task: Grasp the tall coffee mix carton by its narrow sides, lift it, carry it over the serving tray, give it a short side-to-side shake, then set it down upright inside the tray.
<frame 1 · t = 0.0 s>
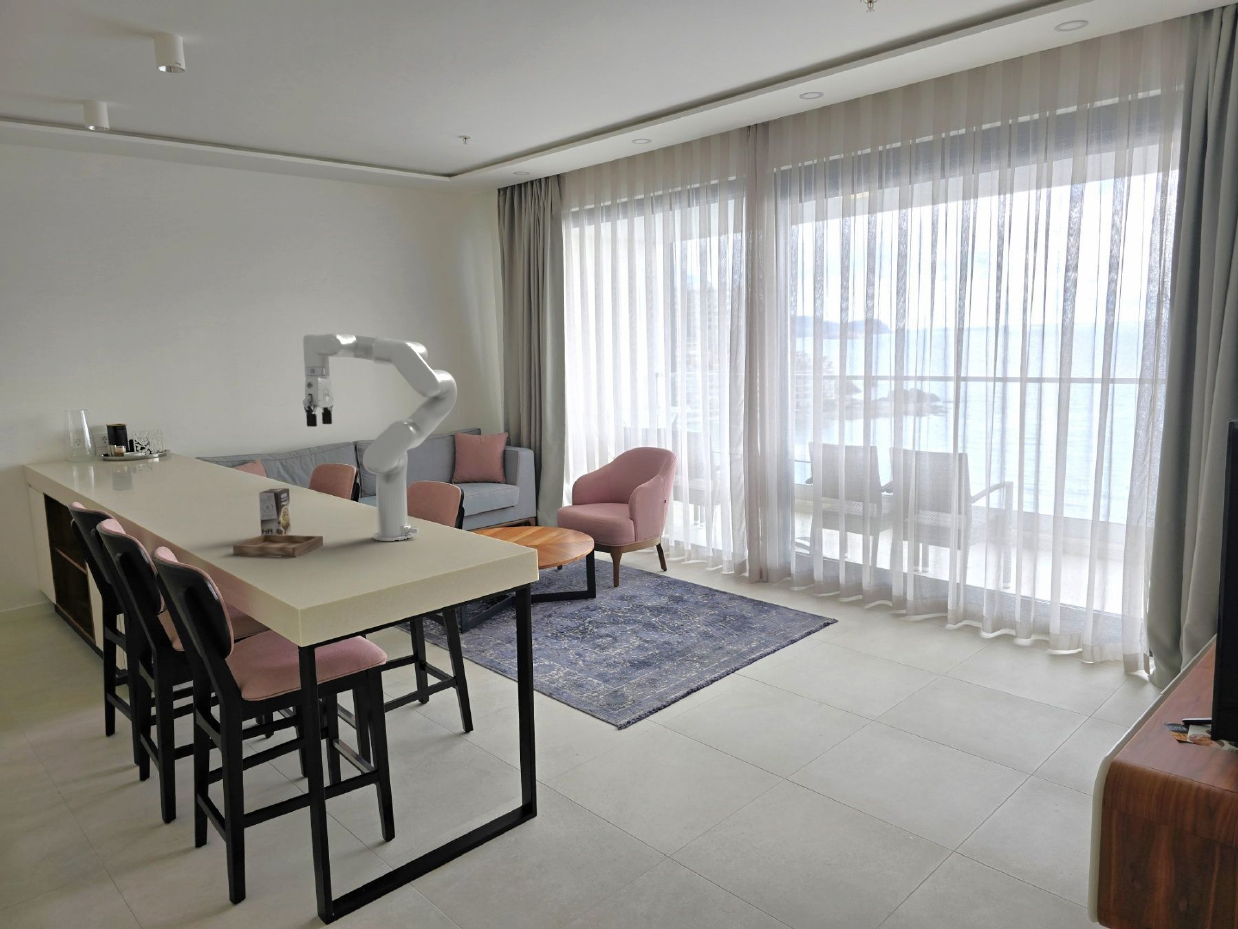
hand: (319, 425, 266), 37 cm above the table, tool pointing down, fingers open, 9 cm apart
tray: (279, 550, 250), on the table
coffee box: (277, 539, 266), on the table
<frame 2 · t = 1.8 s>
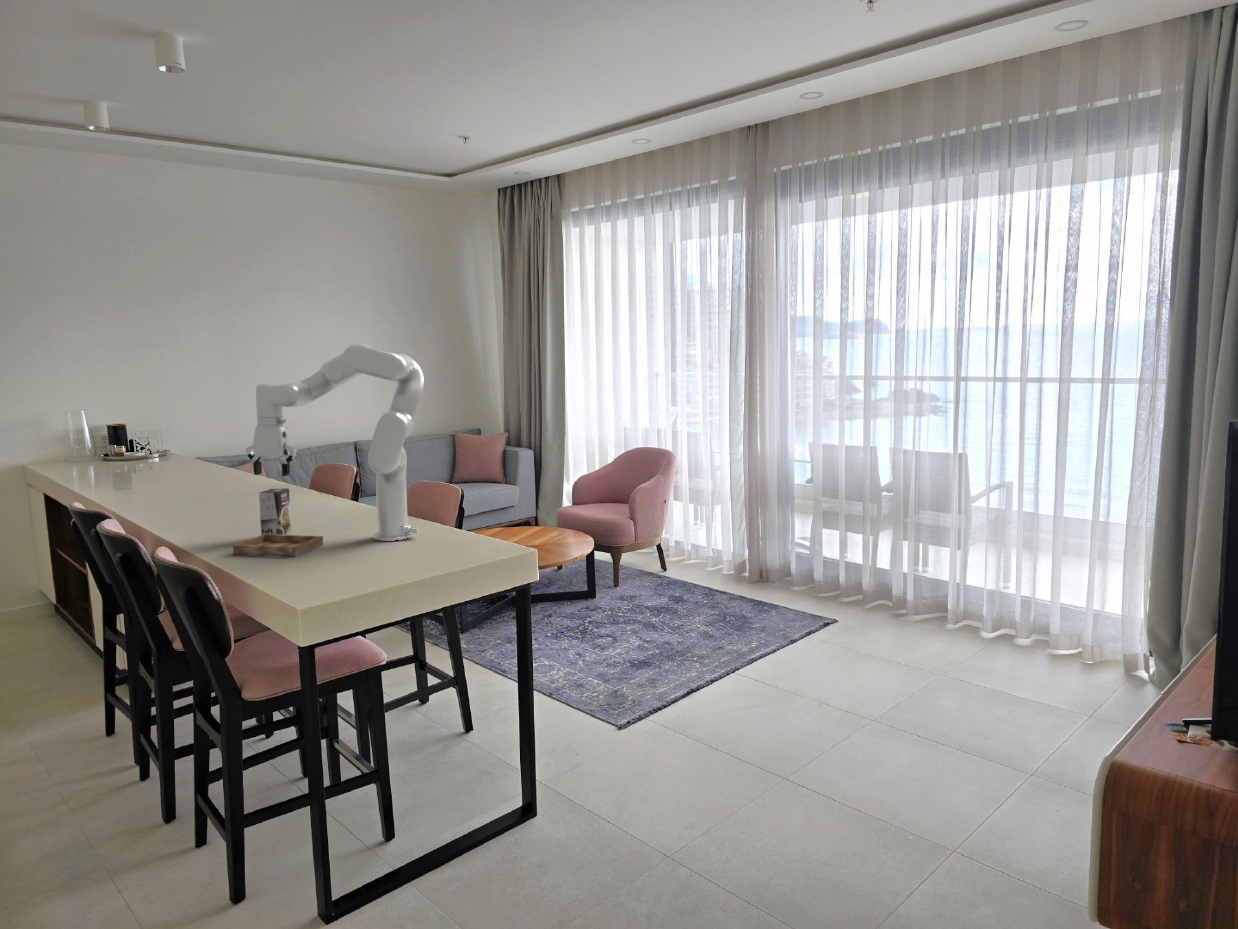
hand: (271, 475, 263), 21 cm above the table, tool pointing down, fingers open, 9 cm apart
nothing on the table moved.
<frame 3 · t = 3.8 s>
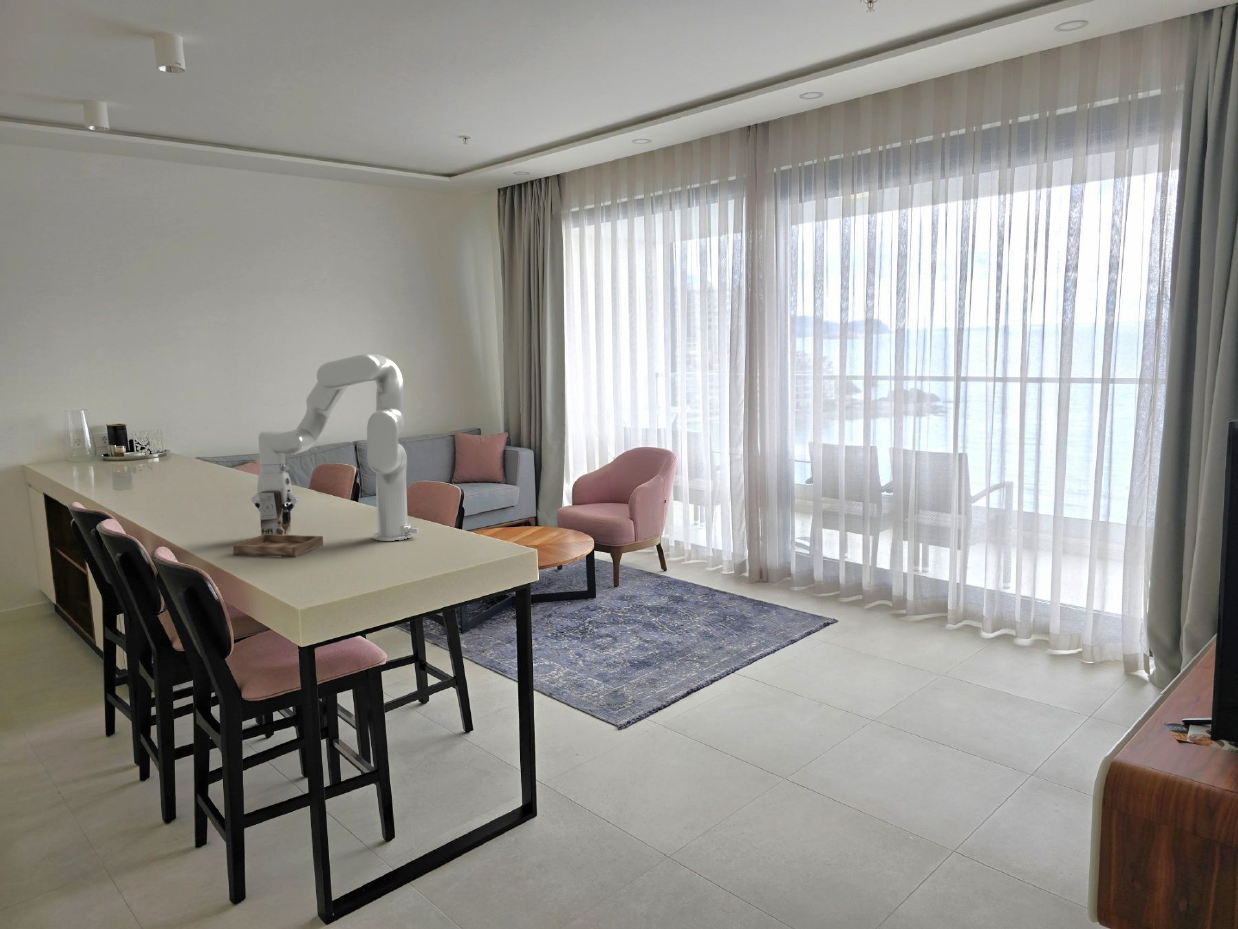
hand: (276, 522, 265), 5 cm above the table, tool pointing down, fingers closed on coffee box, 6 cm apart
coffee box: (277, 539, 266), on the table, touching gripper
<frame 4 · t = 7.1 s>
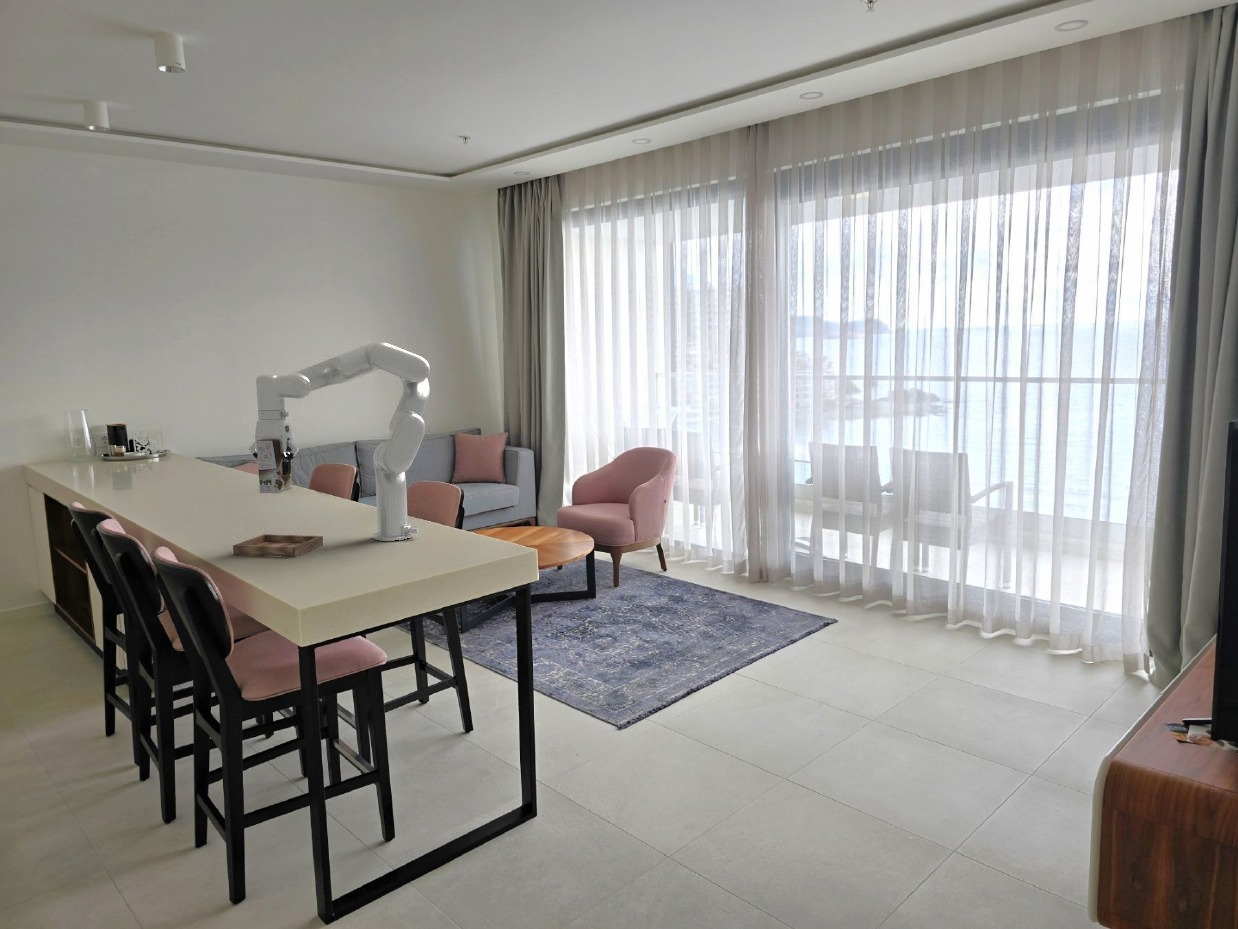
hand: (275, 473, 248), 24 cm above the table, tool pointing down, fingers closed on coffee box, 6 cm apart
coffee box: (276, 491, 248), point 18 cm above the table, touching gripper
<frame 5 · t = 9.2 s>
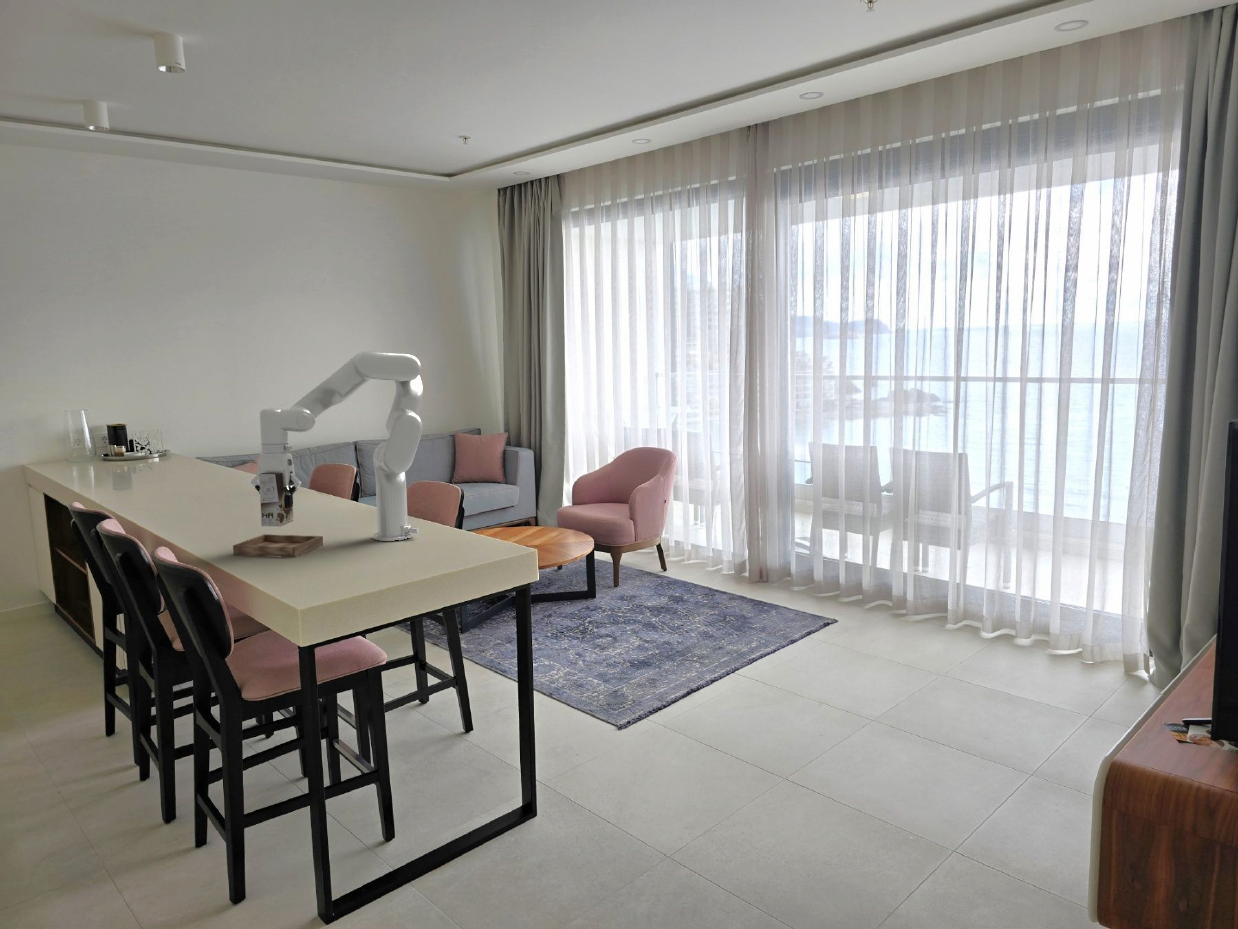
hand: (277, 506, 249), 13 cm above the table, tool pointing down, fingers closed on coffee box, 6 cm apart
coffee box: (278, 524, 249), point 8 cm above the table, touching gripper
when the fingers open (7 cm above the table, at t = 10.9 s): coffee box drops 1 cm, resting on tray.
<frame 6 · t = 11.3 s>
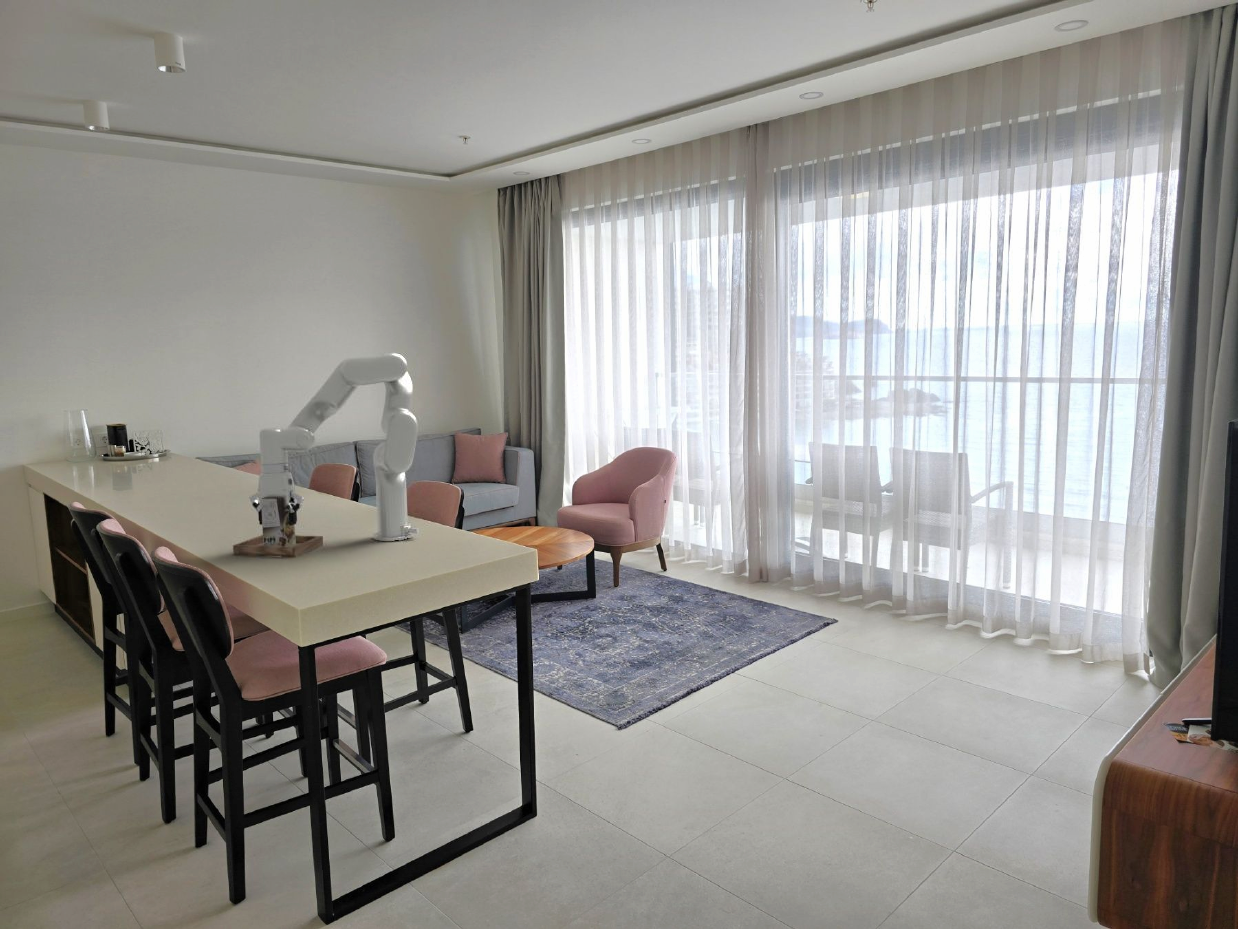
hand: (278, 524, 249), 8 cm above the table, tool pointing down, fingers open, 9 cm apart
coffee box: (280, 548, 250), point 1 cm above the table, touching tray
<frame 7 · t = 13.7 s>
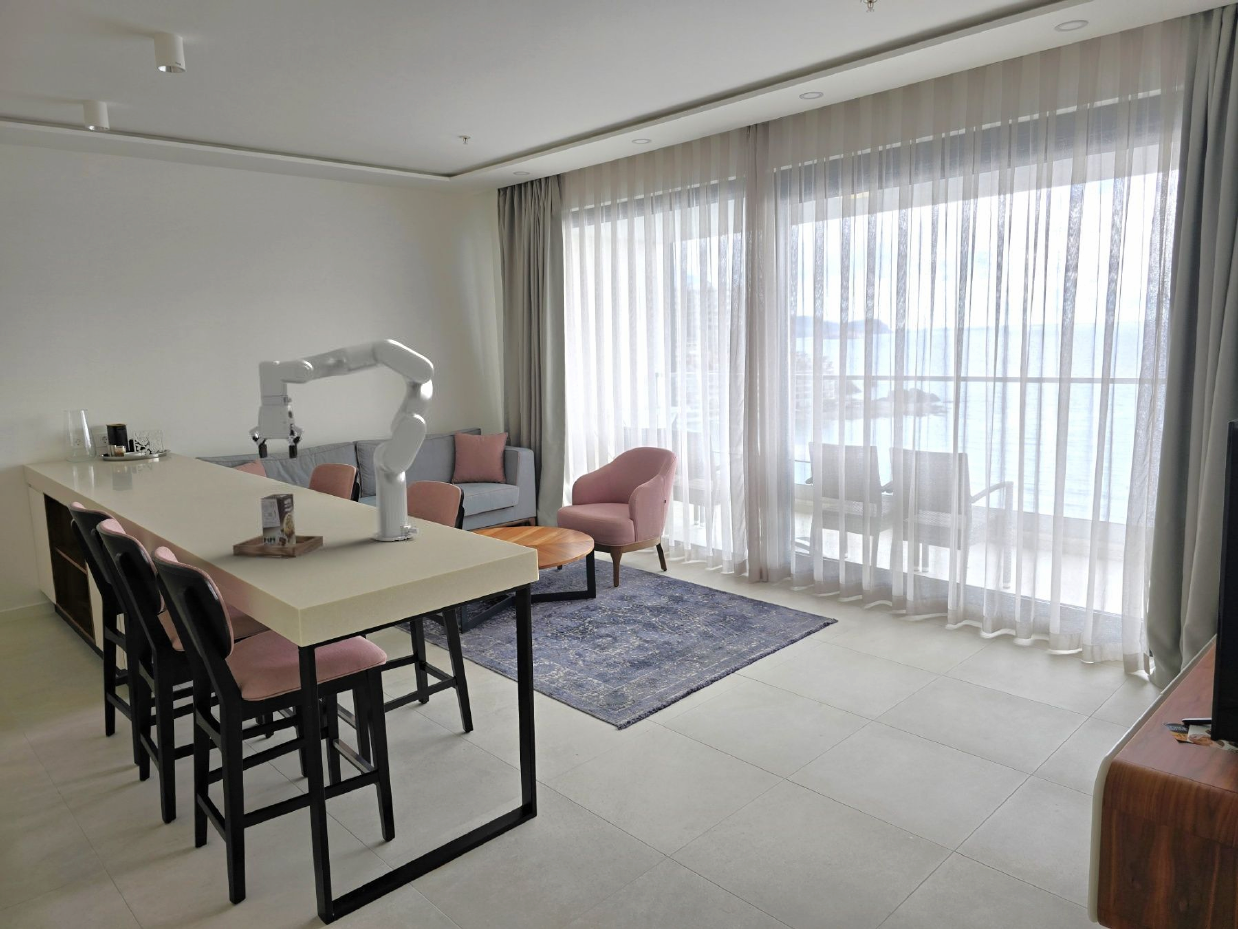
hand: (278, 457, 248), 28 cm above the table, tool pointing down, fingers open, 9 cm apart
nothing on the table moved.
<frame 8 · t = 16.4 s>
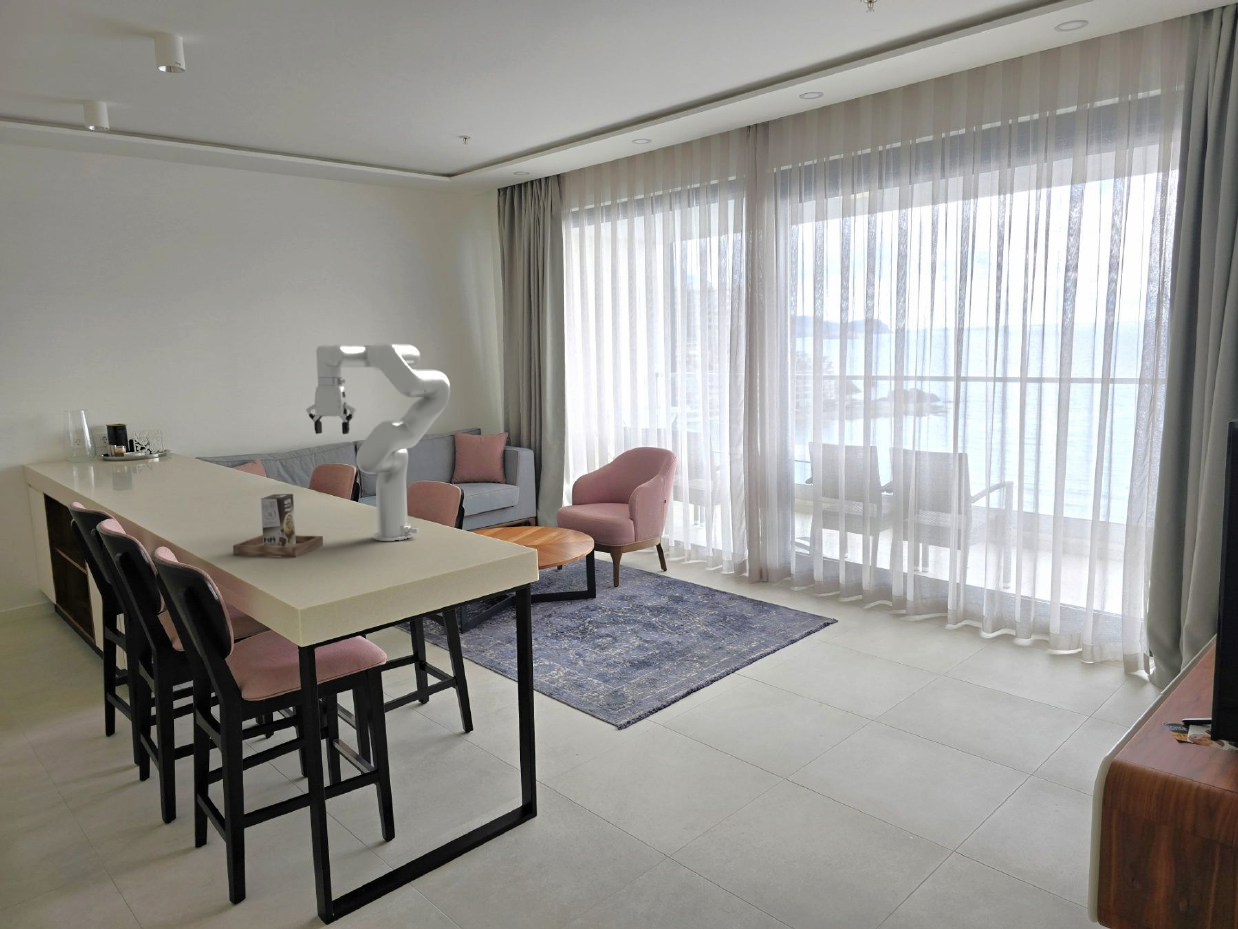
hand: (332, 433, 275), 33 cm above the table, tool pointing down, fingers open, 9 cm apart
nothing on the table moved.
at the end: coffee box inside the target area on the tray (0.2 cm from its centre), point 0.6 cm above the tray's base; coffee box tilted 0°; the gripper is holding nothing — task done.
